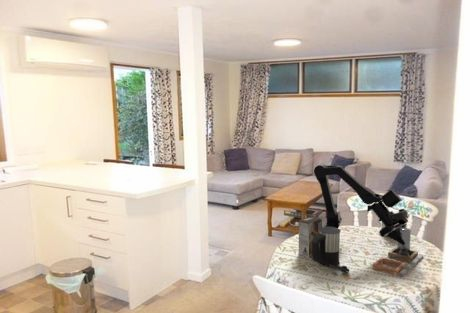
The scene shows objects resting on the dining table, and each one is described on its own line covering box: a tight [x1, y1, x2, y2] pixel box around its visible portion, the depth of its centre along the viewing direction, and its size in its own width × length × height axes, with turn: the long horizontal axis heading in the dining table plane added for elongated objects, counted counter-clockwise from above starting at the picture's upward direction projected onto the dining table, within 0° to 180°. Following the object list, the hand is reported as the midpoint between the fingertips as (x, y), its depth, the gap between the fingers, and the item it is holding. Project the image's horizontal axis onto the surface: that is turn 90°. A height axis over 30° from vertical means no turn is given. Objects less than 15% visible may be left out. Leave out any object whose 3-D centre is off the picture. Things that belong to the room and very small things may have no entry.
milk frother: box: [311, 226, 350, 273], centre depth 153 cm, size 14×16×15 cm
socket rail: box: [372, 246, 424, 278], centre depth 157 cm, size 27×12×2 cm, turn 137°
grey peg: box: [396, 227, 412, 257], centre depth 163 cm, size 5×5×12 cm
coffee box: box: [298, 216, 323, 259], centre depth 167 cm, size 9×6×16 cm
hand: (406, 242), depth 162 cm, fingers closed on grey peg, 5 cm apart
